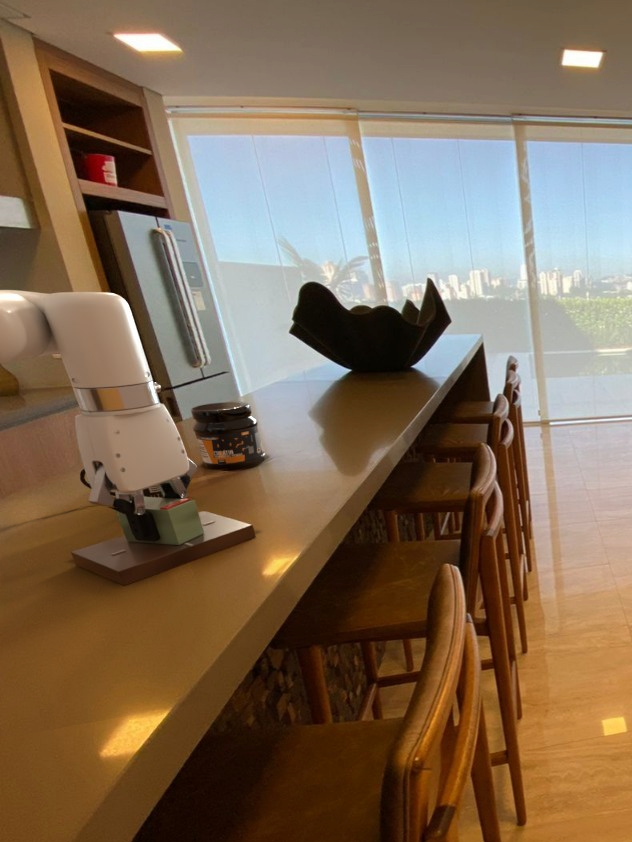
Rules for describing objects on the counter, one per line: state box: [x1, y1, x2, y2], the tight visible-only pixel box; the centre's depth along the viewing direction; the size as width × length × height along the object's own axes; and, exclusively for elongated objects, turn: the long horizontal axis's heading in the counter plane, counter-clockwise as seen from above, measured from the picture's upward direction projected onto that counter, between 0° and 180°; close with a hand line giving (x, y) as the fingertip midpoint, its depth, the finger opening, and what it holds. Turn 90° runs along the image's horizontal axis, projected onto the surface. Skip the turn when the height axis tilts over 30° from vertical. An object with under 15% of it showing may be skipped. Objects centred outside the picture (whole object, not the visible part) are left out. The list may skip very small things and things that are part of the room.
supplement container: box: [190, 401, 267, 472], centre depth 112 cm, size 10×10×12 cm
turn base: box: [70, 510, 257, 586], centre depth 77 cm, size 16×12×2 cm
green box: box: [115, 497, 204, 545], centre depth 76 cm, size 8×4×5 cm, turn 82°
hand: (164, 531), depth 77 cm, fingers closed on green box, 4 cm apart
